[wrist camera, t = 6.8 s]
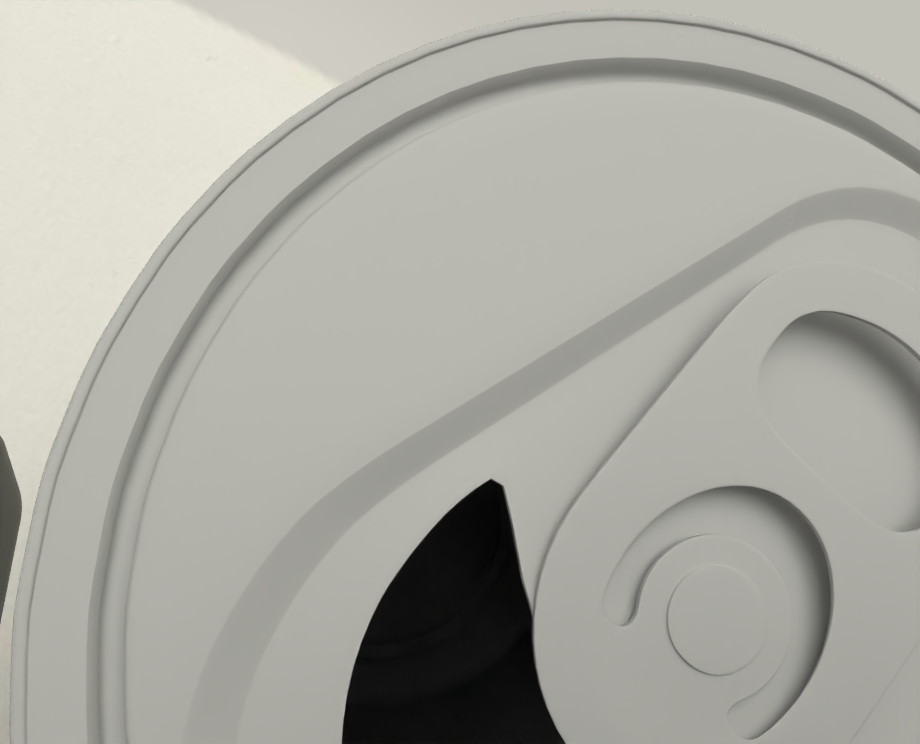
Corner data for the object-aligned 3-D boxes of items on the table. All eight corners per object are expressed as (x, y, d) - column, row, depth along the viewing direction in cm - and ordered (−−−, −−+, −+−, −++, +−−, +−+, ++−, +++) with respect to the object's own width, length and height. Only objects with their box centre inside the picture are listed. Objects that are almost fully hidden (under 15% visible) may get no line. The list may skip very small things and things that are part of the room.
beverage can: (145, 542, 14) (-701, 794, 2) (378, 299, 15) (632, -310, 4) (403, 767, 14) (925, 2075, 2) (603, 504, 16) (1475, 520, 4)
